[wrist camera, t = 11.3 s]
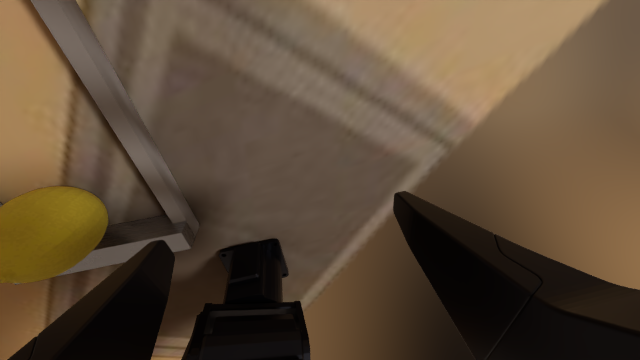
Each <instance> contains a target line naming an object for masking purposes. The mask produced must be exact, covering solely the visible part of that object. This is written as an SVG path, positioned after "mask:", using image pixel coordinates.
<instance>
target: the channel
mask: <svg viewBox="0 0 640 360" xmlns="http://www.w3.org/2000/svg"><path fill="white" fill-rule="evenodd" d="M31 2H32V4H33V5H34V7H35V8H36V10H37V11H38V13H39V14H40V16H41V18H42V19H43V21H44V22H45V24H46V25H47V27H48V29H49V30H50V32H51V33H52V35H53V36H54V38H55V40H56V41H57V43H58V44H59V46H60V47H61V49H62V51H63V52H64V54H65V55H66V57H67V58H68V60H69V62H70V63H71V65H72V66H73V68H74V69H75V71H76V72H77V74H78V76H79V77H80V79H81V80H82V82H83V83H84V85H85V87H86V88H87V90H88V91H89V93H90V94H91V96H92V98H93V99H94V101H95V102H96V104H97V105H98V107H99V109H100V110H101V112H102V113H103V115H104V116H105V118H106V120H107V121H108V123H109V124H110V126H111V127H112V129H113V131H114V132H115V134H116V135H117V137H118V138H119V140H120V141H121V143H122V145H123V146H124V148H125V149H126V151H127V152H128V154H129V156H130V157H131V159H132V160H133V162H134V163H135V165H136V167H137V168H138V170H139V171H140V173H141V174H142V176H143V178H144V179H145V181H146V182H147V184H148V185H149V187H150V189H151V190H152V192H153V193H154V195H155V196H156V198H157V200H158V201H159V203H160V204H161V206H162V207H163V209H164V210H165V212H166V214H167V215H163V216H158V217H153V218H147V219H142V220H137V221H132V222H127V223H121V224H116V225H111V226H107V228H106V231H105V234H104V236H103V238H102V239H101V241H100V242H99V244H98V245H97V246H96V247H95V248H94V249H93V250H92V251H91V252H90V253H89V254H88V255H87V256H86V257H85V258H84V259H83V260H82V261H80V262H79V263H78V264H76V265H75V266H73V267H72V268H70V269H68V270H67V271H65V272H63V273H61V274H59V275H57V276H60V275H65V274H70V273H75V272H80V271H85V270H90V269H94V268H99V267H104V266H109V265H114V264H119V263H124V262H126V261H128V260H129V259H130V258H131V257H132V256H134V255H135V254H136V253H137V252H139V251H140V250H141V249H142V248H143V247H145V246H146V245H147V244H148V243H150V242H152V241H156V240H164V241H165V242H166V243H167V245H168V246H169V247H170V249H171V250H172V252H177V251H182V250H187V249H191V248H192V245H193V242H194V240H195V237H196V234H197V231H198V229H199V226H200V225H199V223H198V221H197V219H196V217H195V216H194V214H193V212H192V210H191V208H190V207H189V205H188V203H187V201H186V199H185V198H184V196H183V194H182V192H181V190H180V188H179V187H178V185H177V183H176V181H175V179H174V178H173V176H172V174H171V172H170V170H169V169H168V167H167V165H166V163H165V161H164V160H163V158H162V156H161V154H160V152H159V150H158V149H157V147H156V145H155V143H154V141H153V140H152V138H151V136H150V134H149V132H148V131H147V129H146V127H145V125H144V123H143V121H142V120H141V118H140V116H139V114H138V112H137V111H136V109H135V107H134V105H133V103H132V102H131V100H130V98H129V96H128V94H127V93H126V91H125V89H124V87H123V85H122V83H121V82H120V80H119V78H118V76H117V74H116V73H115V71H114V69H113V67H112V65H111V64H110V62H109V60H108V58H107V56H106V54H105V53H104V51H103V49H102V47H101V45H100V44H99V42H98V40H97V38H96V36H95V35H94V33H93V31H92V29H91V27H90V26H89V24H88V22H87V20H86V18H85V16H84V15H83V13H82V11H81V9H80V7H79V6H78V4H77V2H76V0H31ZM1 206H3V204H2V203H1V202H0V207H1ZM54 277H55V276H54ZM14 284H15V285H16V284H21V283H14Z"/></svg>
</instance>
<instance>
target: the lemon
mask: <svg viewBox="0 0 640 360" xmlns="http://www.w3.org/2000/svg"><path fill="white" fill-rule="evenodd" d="M107 225H108V212H107V210H106V207H105V205H104V204H103V203H102V201H101V200H100V199H99V198H98V197H96V196H95V195H94V194H92V193H90V192H88V191H85V190H82V189H79V188H75V187H68V186H53V187H46V188H40V189H36V190H33V191H30V192H28V193H25V194H23V195H20V196H18V197H16V198H14V199H12V200H10V201H8V202H7V203H5V204H4V205H3V206H1V207H0V283H4V282H7V283H29V282H36V281H41V280H44V279H48V278H52V277H54V276H57V275H59V274H61V273H63V272H65V271H67V270H68V269H70V268H72V267H73V266H75V265H76V264H78V263H79V262H80V261H82V260H83V259H84V258H85V257H86V256H87V255H88V254H89V253H90V252H91V251H92V250H93V249H94V248H95V247H96V246H97V245H98V244H99V242H100V241H101V239H102V238H103V236H104V234H105V231H106V228H107Z"/></svg>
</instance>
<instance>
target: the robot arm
mask: <svg viewBox="0 0 640 360" xmlns="http://www.w3.org/2000/svg"><path fill="white" fill-rule="evenodd" d="M393 211H394V214H395V217H396V219H397V221H398V223H399V225H400V228H401V230H402V232H403V234H404V237H405V239H406V241H407V243H408V245H409V247H410V249H411V251H412V253H413V254H414V256H415V258H416V259H417V261H418V263H419V265H420V266H421V268H422V270H423V271H424V273H425V275H426V276H427V278H428V279H429V281H430V283H431V285H432V287H433V288H434V290H435V291H436V293H437V295H438V297H439V298H440V300H441V302H442V304H443V305H444V307H445V309H446V310H447V312H448V314H449V315H450V317H451V319H452V321H453V322H454V324H455V326H456V327H457V329H458V331H459V333H460V334H461V336H462V338H463V339H464V341H465V343H466V344H467V346H468V348H469V350H470V351H471V353H472V355H473V356H474V358H475V360H640V290H637V289H632V288H628V287H624V286H620V285H616V284H613V283H610V282H607V281H605V280H602V279H599V278H597V277H594V276H592V275H589V274H587V273H584V272H582V271H580V270H577V269H575V268H572V267H570V266H567V265H565V264H562V263H560V262H558V261H555V260H553V259H550V258H547V257H545V256H543V255H541V254H538V253H536V252H534V251H531V250H529V249H527V248H524V247H522V246H520V245H518V244H515V243H513V242H511V241H509V240H507V239H505V238H503V237H501V236H499V235H496V234H495V235H494V234H493V233H492V232H490V231H488V230H486V229H484V228H482V227H480V226H477V225H475V224H473V223H471V222H469V221H467V220H465V219H463V218H461V217H458V216H457V215H454V214H452V213H450V212H448V211H446V210H444V209H442V208H440V207H438V206H436V205H434V204H432V203H429V202H427V201H425V200H423V199H421V198H419V197H417V196H415V195H413V194H411V193H409V192H406V191H402V192H397V193H395V195H394V205H393ZM274 243H275V244H274ZM219 257H220V259H221V261H222V262H223V264H224V266H225V268H226V270H227V272H228V279H227V285H226V290H225V296H224V302H223V304H212V303H205V306H204V310H203V312H201V313H200V314H199V315H197V318H196V322H195V326H194V330H193V333H192V336H191V339H190V341H189V343H188V345H187V348H186V350H185V352H184V355H183V357H182V359H181V360H310V345H309V337H308V333H307V328H306V324H305V320H304V315H303V311H302V307H301V302H300V301H294V302H283V296H282V278H284V277H287V276H288V268H287V265H286V262H285V259H284V255H283V252H282V249H281V246H280V242H279V240H278V239H271V240H266V241H261V242H256V243H251V244H247V245H242V246H237V247H232V248H227V249H223V250H221V251H220V253H219ZM174 261H175V256H174V253H173V252H172V250H171V249H170V247H169V246H168V245H167V243H166V242H165V241H164V240H156V241H152V242H150V243H148V244H147V245H146V246H145V247H143V248H142V249H141V250H140V251H139V252H137V253H136V254H135V255H134V256H132V257H131V258H130V259H129V260H128V261H126V262H125V263H124V264H123V265H122V266H120V267H119V268H118V269H117V270H116V271H114V272H113V273H112V274H111V275H109V276H108V277H107V278H106V279H105V280H103V281H102V282H101V283H100V284H99V285H97V286H96V287H95V288H94V289H93V290H91V291H90V292H89V293H88V294H87V295H85V296H84V297H83V298H82V299H80V300H79V301H78V302H77V303H76V304H74V305H73V306H72V307H71V308H70V309H68V310H67V311H66V312H65V313H64V314H62V315H61V316H60V317H59V318H57V319H56V320H55V321H54V322H53V323H51V324H50V325H49V326H48V327H47V328H45V329H44V330H43V331H42V332H41V333H39V335H38V336H36V337H34V338H33V339H32V340H31V341H30V342H28V343H27V344H26V345H25V346H24V347H22V348H21V349H20V350H19V351H17V352H16V353H15V354H14V355H13V356H11V357H10V358H9V359H8V360H151V357H152V353H153V350H154V346H155V343H156V339H157V336H158V332H159V329H160V325H161V322H162V318H163V315H164V311H165V308H166V304H167V300H168V296H169V290H170V284H171V279H172V273H173V267H174Z"/></svg>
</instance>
